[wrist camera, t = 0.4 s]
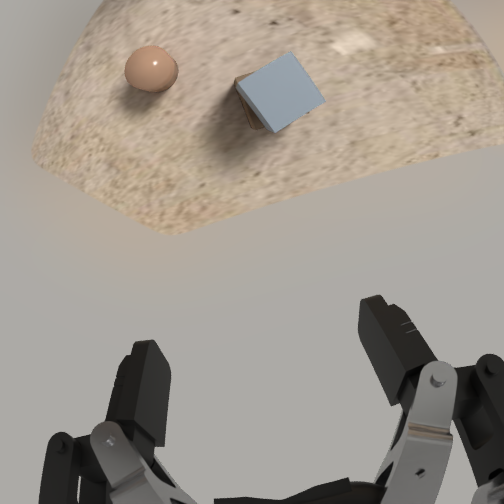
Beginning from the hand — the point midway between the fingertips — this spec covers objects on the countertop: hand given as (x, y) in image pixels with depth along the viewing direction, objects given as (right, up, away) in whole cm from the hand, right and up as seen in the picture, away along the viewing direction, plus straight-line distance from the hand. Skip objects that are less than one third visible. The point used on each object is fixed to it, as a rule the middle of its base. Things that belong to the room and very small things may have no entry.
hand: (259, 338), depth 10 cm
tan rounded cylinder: (-11, +24, +17) cm, 32 cm away
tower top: (+2, +19, +15) cm, 24 cm away
